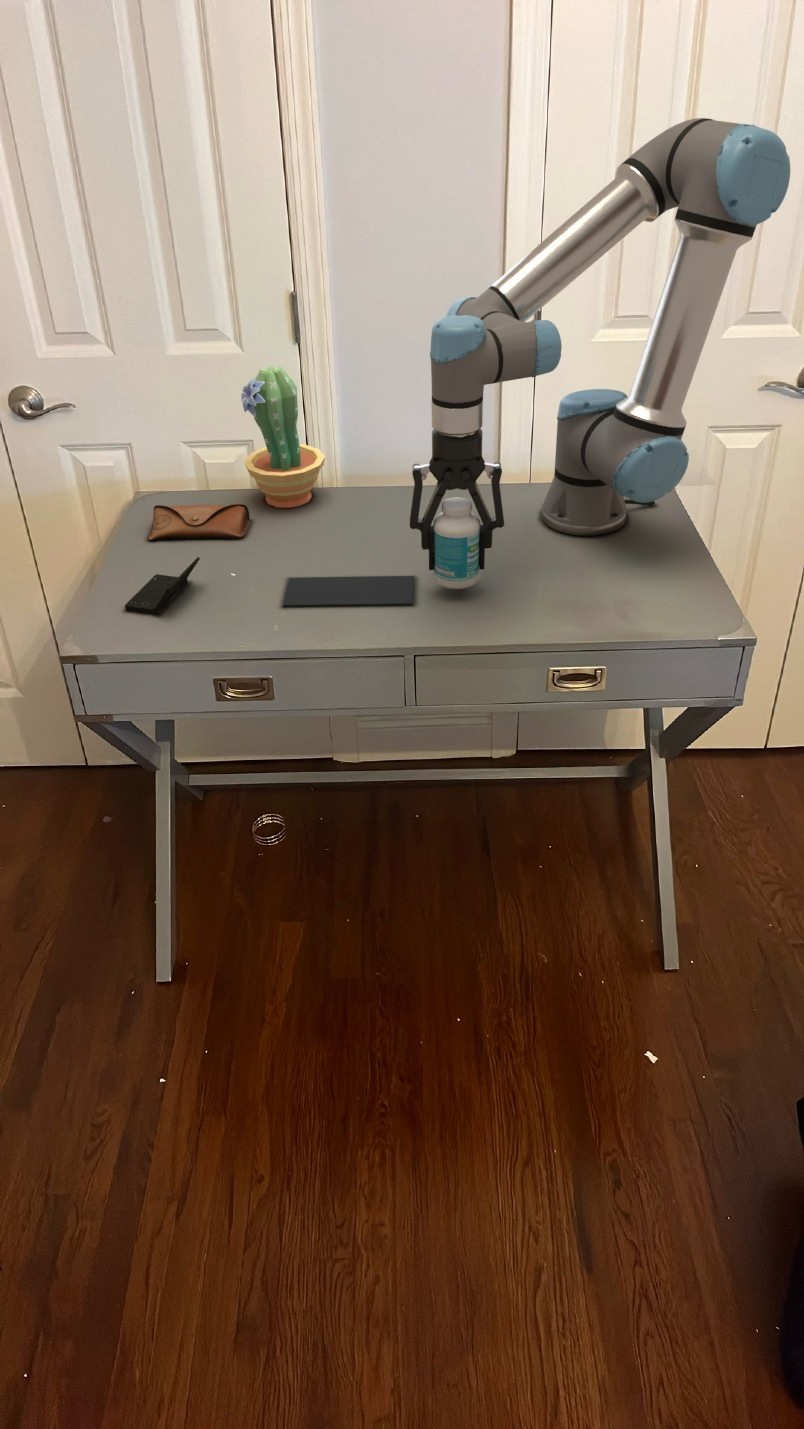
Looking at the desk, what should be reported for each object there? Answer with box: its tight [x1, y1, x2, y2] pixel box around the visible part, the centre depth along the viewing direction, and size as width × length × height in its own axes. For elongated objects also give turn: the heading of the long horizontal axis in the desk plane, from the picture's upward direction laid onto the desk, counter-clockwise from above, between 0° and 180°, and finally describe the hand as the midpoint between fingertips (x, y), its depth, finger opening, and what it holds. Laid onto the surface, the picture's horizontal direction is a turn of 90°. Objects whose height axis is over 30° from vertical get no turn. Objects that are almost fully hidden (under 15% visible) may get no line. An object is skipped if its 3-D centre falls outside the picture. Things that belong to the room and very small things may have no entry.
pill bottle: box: [432, 496, 481, 590], centre depth 158 cm, size 8×7×14 cm
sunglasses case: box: [148, 503, 251, 541], centre depth 183 cm, size 18×7×7 cm, turn 90°
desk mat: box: [282, 575, 415, 608], centre depth 164 cm, size 21×9×1 cm, turn 88°
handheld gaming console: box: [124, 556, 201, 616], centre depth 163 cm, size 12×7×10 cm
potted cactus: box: [240, 365, 326, 509], centre depth 187 cm, size 15×15×25 cm
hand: (456, 565), depth 161 cm, fingers closed on pill bottle, 7 cm apart
